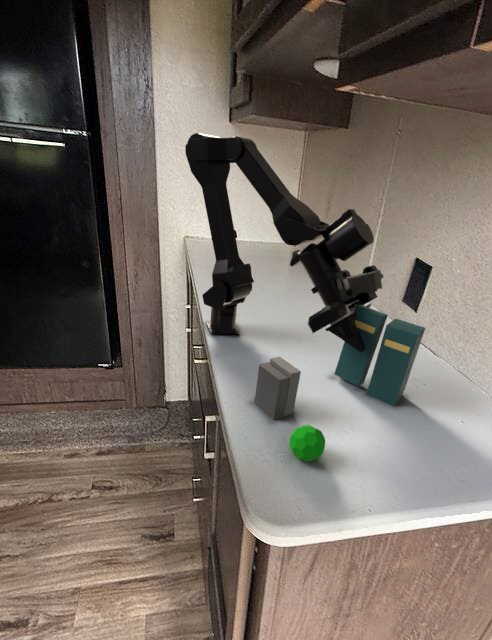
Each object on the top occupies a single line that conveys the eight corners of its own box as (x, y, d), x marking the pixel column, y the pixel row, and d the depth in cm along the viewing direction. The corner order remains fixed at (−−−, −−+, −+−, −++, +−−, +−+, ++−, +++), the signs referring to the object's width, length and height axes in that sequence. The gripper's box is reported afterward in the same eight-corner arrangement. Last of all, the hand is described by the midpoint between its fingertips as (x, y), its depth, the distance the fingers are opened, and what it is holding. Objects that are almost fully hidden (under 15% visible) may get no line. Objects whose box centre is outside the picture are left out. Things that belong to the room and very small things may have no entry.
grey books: (254, 402, 67) (259, 360, 63) (273, 397, 69) (279, 356, 65) (273, 420, 63) (280, 376, 59) (293, 413, 65) (301, 371, 62)
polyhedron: (301, 472, 53) (308, 444, 51) (280, 451, 57) (285, 424, 54) (328, 461, 56) (335, 434, 54) (306, 441, 59) (312, 415, 57)
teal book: (334, 374, 78) (355, 305, 72) (339, 371, 80) (361, 304, 74) (358, 386, 75) (382, 316, 69) (363, 383, 77) (388, 314, 71)
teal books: (366, 394, 74) (386, 325, 67) (375, 384, 78) (395, 318, 71) (394, 406, 72) (418, 335, 65) (402, 395, 76) (425, 327, 69)
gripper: (339, 256, 61) (387, 345, 61) (380, 245, 75) (419, 317, 76) (287, 292, 68) (332, 371, 68) (334, 275, 82) (370, 341, 83)
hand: (366, 348), depth 74 cm, fingers closed on teal book, 3 cm apart
